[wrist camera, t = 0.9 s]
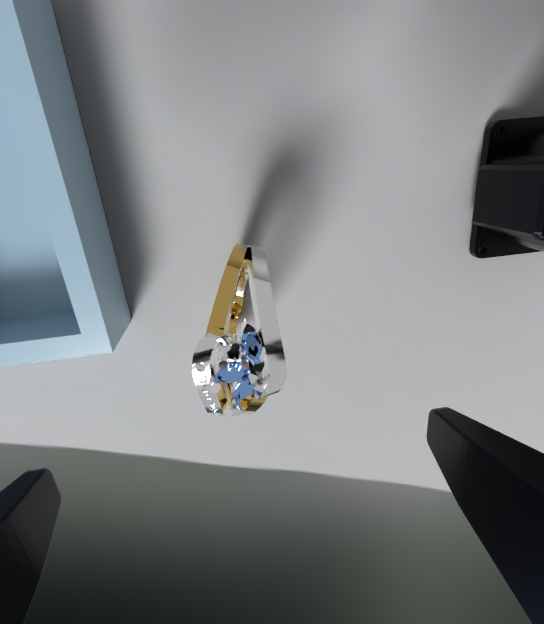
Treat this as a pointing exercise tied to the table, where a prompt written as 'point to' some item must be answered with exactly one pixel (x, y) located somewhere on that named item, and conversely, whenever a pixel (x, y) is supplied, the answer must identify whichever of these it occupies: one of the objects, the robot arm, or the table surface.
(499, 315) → the table surface
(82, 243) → the box
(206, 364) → the ring
